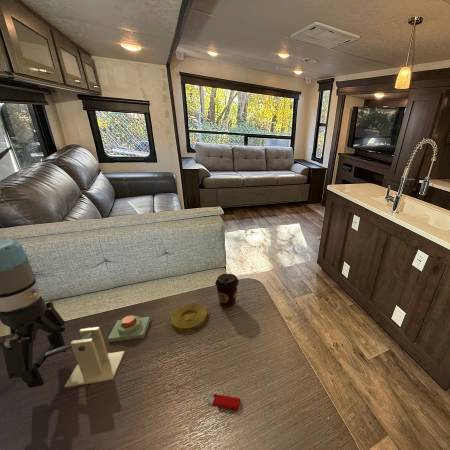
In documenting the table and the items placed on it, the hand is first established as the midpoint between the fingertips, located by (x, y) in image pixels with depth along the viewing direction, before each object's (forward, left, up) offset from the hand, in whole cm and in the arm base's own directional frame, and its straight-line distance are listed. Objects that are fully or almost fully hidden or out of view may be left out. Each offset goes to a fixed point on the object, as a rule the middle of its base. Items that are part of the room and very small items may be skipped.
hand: (49, 367), depth 67 cm
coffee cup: (+35, +38, -4) cm, 52 cm away
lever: (+5, +2, +5) cm, 8 cm away
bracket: (+10, +4, -4) cm, 11 cm away
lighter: (+49, +2, -4) cm, 49 cm away
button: (+9, +18, 0) cm, 20 cm away
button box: (+9, +18, -4) cm, 20 cm away
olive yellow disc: (+25, +27, -4) cm, 37 cm away
